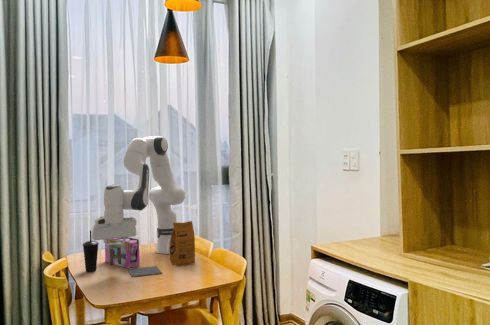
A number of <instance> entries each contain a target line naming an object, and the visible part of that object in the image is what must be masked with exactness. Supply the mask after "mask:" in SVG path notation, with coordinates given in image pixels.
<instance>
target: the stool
mask: <svg viewBox="0 0 490 325" xmlns="http://www.w3.org/2000/svg"><path fill="white" fill-rule="evenodd" d="M109 247H110V263H109V264H110V266H114V264H113V258H118V263H119V264H121V243H120V242H118V243H109ZM113 248H117V253H118V254H117V255H113ZM113 256H114V257H113Z"/></svg>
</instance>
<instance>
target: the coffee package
mask: <svg viewBox="0 0 490 325" xmlns="http://www.w3.org/2000/svg"><path fill="white" fill-rule="evenodd" d="M173 226H174V228H173V232H172V235H171V240H170V254H169V261H170V264H172V266H174V267H179V266H189V265H192V264H195V263H196V244H195V242H196V240H195V239H196V238H195V230H194V224H193V221H192V220H189V221H185V222H176V223H174V222H173Z"/></svg>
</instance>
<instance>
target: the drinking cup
mask: <svg viewBox="0 0 490 325" xmlns="http://www.w3.org/2000/svg"><path fill="white" fill-rule="evenodd" d="M99 244H100V242H98V241H97V240H92V230H89V240H88V241H85V242H83V243H82V247H83V257H84V266H85V267H84V268H85V272H86V273H93V272H96V271H97V265H98V264H97V263H98V253H99Z"/></svg>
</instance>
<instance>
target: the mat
mask: <svg viewBox="0 0 490 325" xmlns="http://www.w3.org/2000/svg"><path fill="white" fill-rule="evenodd" d="M127 271H128V273H129V275H130V276H131V278H138V277H146V276H155V275H162V274H163V273H162V271H161V270H160V269H159V267H158V266H156V265H155V266H145V267H144V266H143V267H136V268H134V267H133V268H127Z"/></svg>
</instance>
